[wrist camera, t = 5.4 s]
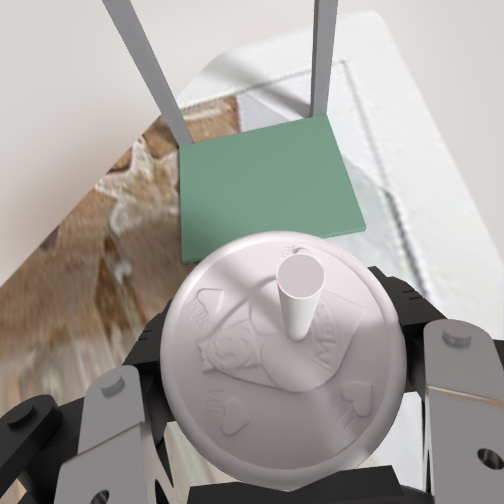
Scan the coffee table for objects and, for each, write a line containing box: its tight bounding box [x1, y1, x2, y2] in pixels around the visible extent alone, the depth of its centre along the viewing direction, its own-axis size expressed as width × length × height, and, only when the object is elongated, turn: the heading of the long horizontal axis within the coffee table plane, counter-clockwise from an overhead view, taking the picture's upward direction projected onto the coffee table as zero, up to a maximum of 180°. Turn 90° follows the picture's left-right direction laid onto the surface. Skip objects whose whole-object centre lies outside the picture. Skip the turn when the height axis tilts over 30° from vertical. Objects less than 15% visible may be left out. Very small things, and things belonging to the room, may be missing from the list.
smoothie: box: [160, 231, 407, 491], centre depth 9 cm, size 6×6×14 cm
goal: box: [102, 0, 366, 264], centre depth 18 cm, size 14×13×14 cm
